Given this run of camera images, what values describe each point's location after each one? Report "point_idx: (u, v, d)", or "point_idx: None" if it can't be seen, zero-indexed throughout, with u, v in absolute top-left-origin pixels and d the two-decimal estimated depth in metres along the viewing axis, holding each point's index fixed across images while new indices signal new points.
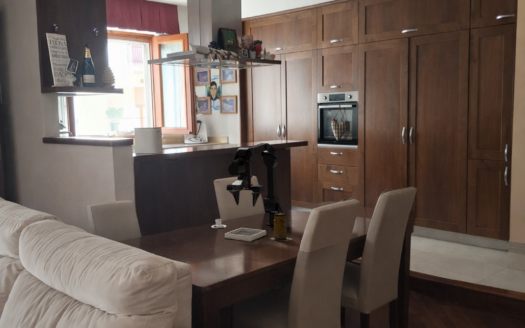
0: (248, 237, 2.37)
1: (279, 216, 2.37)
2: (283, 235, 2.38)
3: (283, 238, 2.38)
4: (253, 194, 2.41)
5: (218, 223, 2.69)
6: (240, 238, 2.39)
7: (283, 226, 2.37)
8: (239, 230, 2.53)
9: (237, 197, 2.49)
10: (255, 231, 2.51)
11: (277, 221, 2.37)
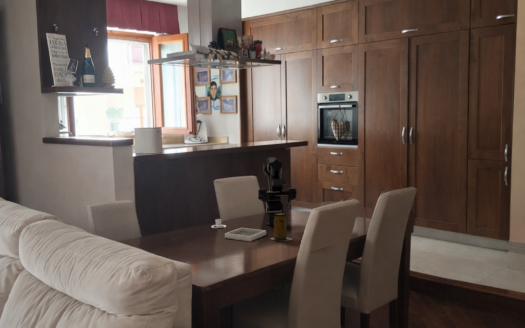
0: (248, 237, 2.37)
1: (279, 216, 2.37)
2: (283, 235, 2.38)
3: (283, 238, 2.38)
4: (290, 194, 2.49)
5: (218, 223, 2.69)
6: (240, 238, 2.39)
7: (283, 226, 2.37)
8: (239, 230, 2.53)
9: None
10: (255, 231, 2.51)
11: (277, 221, 2.37)
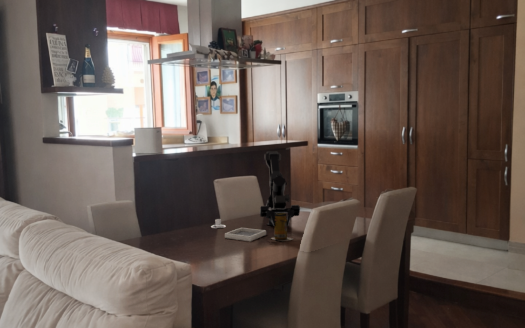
0: (248, 237, 2.37)
1: (280, 216, 2.37)
2: (283, 235, 2.38)
3: (283, 238, 2.38)
4: (290, 211, 2.40)
5: (218, 223, 2.69)
6: (240, 238, 2.39)
7: (284, 226, 2.37)
8: (239, 230, 2.53)
9: (273, 219, 2.40)
10: (255, 231, 2.51)
11: (278, 221, 2.37)
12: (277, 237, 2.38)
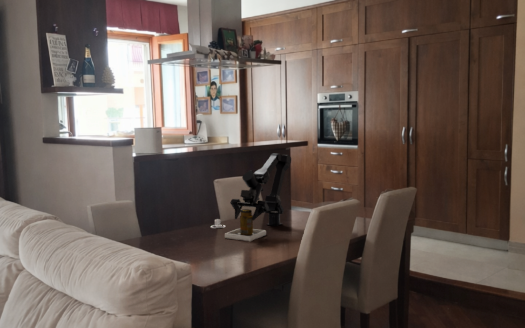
0: (248, 237, 2.37)
1: (242, 212, 2.44)
2: (246, 231, 2.44)
3: (246, 234, 2.44)
4: (257, 206, 2.43)
5: (217, 223, 2.69)
6: (240, 238, 2.39)
7: (246, 222, 2.44)
8: (239, 230, 2.53)
9: (237, 212, 2.49)
10: (255, 231, 2.51)
11: (241, 217, 2.45)
12: (241, 232, 2.46)
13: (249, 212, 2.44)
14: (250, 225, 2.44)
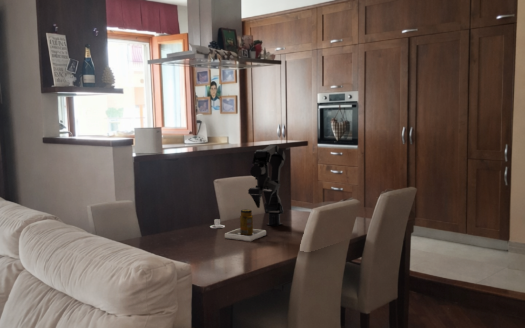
0: (248, 237, 2.37)
1: (242, 212, 2.44)
2: (246, 231, 2.44)
3: (246, 234, 2.44)
4: (273, 192, 2.57)
5: (217, 223, 2.68)
6: (240, 238, 2.39)
7: (246, 222, 2.44)
8: (239, 230, 2.53)
9: None
10: (255, 231, 2.51)
11: (241, 217, 2.45)
12: (241, 232, 2.46)
13: (249, 212, 2.44)
14: (250, 225, 2.44)
